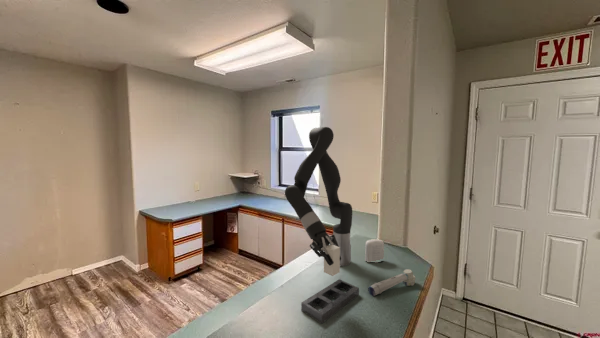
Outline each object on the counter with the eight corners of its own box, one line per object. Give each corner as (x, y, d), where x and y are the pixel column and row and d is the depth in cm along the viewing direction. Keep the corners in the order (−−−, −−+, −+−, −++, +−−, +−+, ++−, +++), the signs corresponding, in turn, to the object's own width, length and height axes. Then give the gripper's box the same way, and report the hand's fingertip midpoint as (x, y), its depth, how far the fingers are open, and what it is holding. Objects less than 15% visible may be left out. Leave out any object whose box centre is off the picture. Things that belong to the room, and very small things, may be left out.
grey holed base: (339, 285, 105) (339, 279, 105) (358, 295, 98) (358, 288, 98) (301, 310, 88) (301, 302, 88) (321, 323, 81) (321, 315, 81)
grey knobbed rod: (366, 283, 100) (407, 264, 110) (367, 298, 101) (408, 277, 111) (374, 289, 95) (417, 269, 106) (376, 305, 96) (418, 283, 106)
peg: (330, 268, 96) (330, 244, 95) (339, 272, 93) (339, 247, 92) (323, 272, 93) (324, 247, 92) (332, 276, 89) (333, 250, 89)
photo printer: (381, 259, 133) (381, 237, 132) (384, 262, 128) (385, 240, 128) (363, 260, 131) (364, 238, 131) (367, 263, 127) (367, 241, 126)
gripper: (305, 223, 92) (329, 263, 84) (328, 217, 102) (352, 252, 94) (296, 233, 96) (318, 273, 88) (319, 226, 106) (340, 261, 98)
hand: (335, 262), depth 91 cm, fingers closed on peg, 4 cm apart
